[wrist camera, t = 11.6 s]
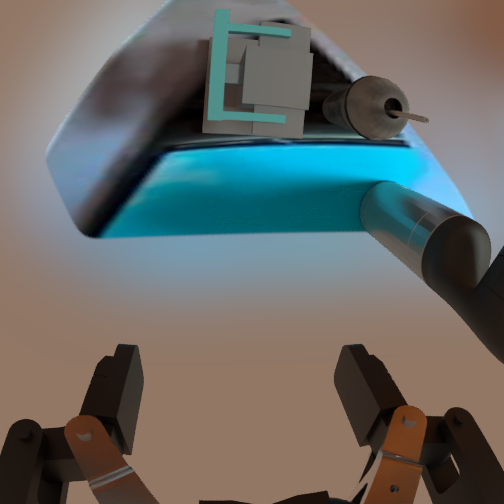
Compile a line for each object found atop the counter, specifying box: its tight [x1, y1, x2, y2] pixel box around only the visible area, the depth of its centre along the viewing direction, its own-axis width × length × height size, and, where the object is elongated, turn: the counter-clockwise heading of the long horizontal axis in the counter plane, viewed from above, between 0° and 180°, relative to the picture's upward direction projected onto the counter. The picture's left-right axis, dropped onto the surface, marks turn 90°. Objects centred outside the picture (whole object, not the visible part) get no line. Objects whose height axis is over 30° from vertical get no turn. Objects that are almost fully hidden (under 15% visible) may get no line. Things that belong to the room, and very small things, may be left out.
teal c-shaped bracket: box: [207, 9, 291, 123], centre depth 25 cm, size 7×10×5 cm
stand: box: [202, 21, 313, 139], centre depth 33 cm, size 10×13×12 cm
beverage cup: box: [322, 76, 429, 141], centre depth 31 cm, size 7×7×20 cm
